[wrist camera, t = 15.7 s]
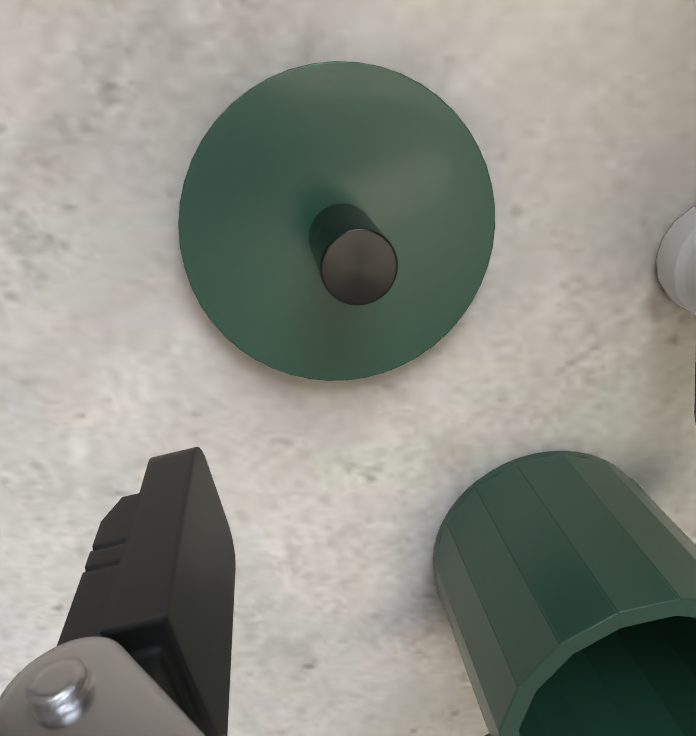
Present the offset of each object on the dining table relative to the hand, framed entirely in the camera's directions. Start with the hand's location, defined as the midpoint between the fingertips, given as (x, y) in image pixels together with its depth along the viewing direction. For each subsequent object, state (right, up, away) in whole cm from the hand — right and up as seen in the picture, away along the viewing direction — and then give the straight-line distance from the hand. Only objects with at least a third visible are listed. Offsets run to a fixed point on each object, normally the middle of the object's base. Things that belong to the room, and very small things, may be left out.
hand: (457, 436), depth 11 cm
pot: (+8, -8, +25) cm, 27 cm away
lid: (-2, +7, +16) cm, 18 cm away
